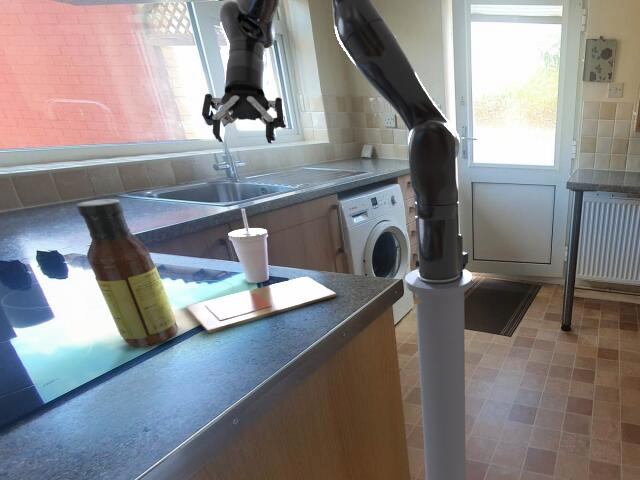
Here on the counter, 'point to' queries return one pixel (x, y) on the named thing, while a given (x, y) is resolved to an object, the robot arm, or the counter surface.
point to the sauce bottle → (127, 276)
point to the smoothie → (251, 251)
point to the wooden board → (258, 303)
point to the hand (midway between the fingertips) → (245, 139)
